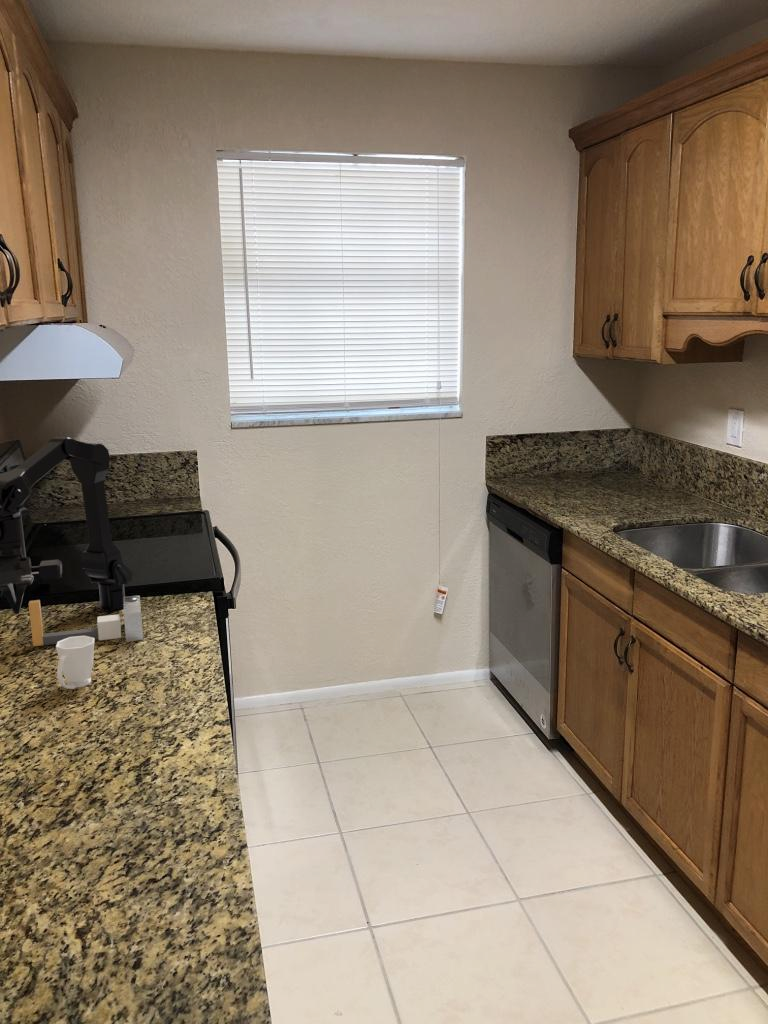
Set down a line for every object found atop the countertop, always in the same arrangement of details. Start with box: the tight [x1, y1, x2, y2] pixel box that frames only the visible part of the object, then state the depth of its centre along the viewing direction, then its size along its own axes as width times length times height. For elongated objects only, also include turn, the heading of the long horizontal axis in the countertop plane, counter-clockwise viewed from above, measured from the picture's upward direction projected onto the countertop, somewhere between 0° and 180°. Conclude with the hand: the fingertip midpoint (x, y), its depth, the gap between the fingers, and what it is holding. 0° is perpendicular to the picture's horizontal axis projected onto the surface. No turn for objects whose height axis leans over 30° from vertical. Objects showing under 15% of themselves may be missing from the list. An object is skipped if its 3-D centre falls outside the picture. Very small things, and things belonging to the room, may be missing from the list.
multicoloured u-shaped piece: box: [28, 599, 122, 647], centre depth 174 cm, size 18×4×9 cm, turn 107°
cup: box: [55, 636, 96, 690], centre depth 151 cm, size 7×10×8 cm
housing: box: [123, 595, 144, 643], centre depth 179 cm, size 4×12×6 cm, turn 17°
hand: (17, 613), depth 170 cm, fingers closed
